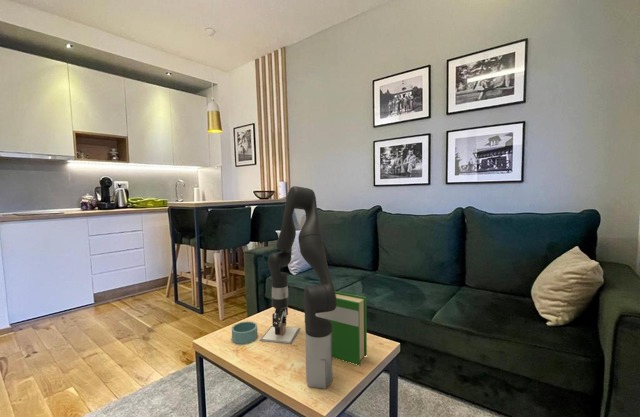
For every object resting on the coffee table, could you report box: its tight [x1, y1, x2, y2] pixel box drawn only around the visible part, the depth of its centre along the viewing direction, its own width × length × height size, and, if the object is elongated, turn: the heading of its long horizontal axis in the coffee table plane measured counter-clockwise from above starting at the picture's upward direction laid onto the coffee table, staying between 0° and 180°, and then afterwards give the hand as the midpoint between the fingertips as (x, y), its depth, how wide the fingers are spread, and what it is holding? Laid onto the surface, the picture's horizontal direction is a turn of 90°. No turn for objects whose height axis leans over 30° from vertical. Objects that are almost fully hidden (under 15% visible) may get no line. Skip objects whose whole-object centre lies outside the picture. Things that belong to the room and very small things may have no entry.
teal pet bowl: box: [231, 321, 258, 346], centre depth 130 cm, size 11×11×6 cm
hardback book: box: [319, 290, 368, 366], centre depth 116 cm, size 18×7×24 cm, turn 58°
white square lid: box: [261, 322, 299, 343], centre depth 133 cm, size 13×13×5 cm
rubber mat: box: [259, 325, 302, 345], centre depth 133 cm, size 15×15×1 cm
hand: (280, 330), depth 133 cm, fingers open, 8 cm apart
